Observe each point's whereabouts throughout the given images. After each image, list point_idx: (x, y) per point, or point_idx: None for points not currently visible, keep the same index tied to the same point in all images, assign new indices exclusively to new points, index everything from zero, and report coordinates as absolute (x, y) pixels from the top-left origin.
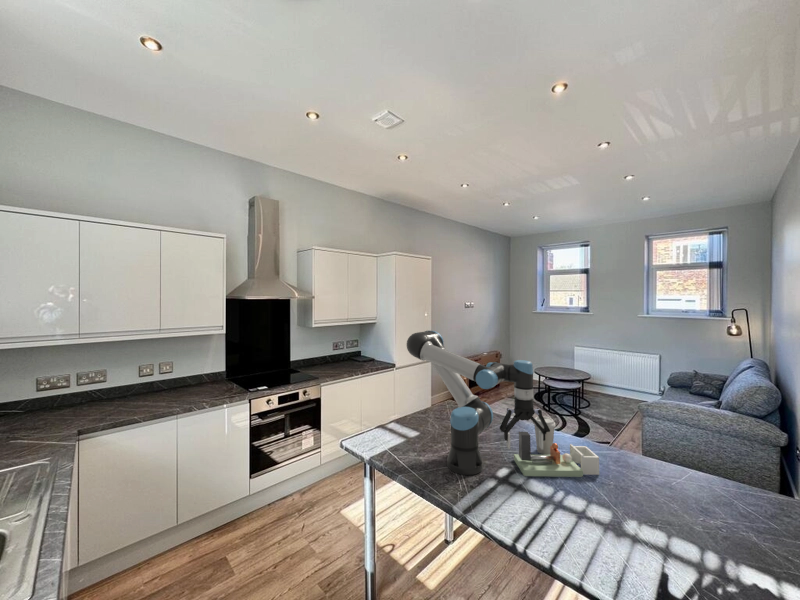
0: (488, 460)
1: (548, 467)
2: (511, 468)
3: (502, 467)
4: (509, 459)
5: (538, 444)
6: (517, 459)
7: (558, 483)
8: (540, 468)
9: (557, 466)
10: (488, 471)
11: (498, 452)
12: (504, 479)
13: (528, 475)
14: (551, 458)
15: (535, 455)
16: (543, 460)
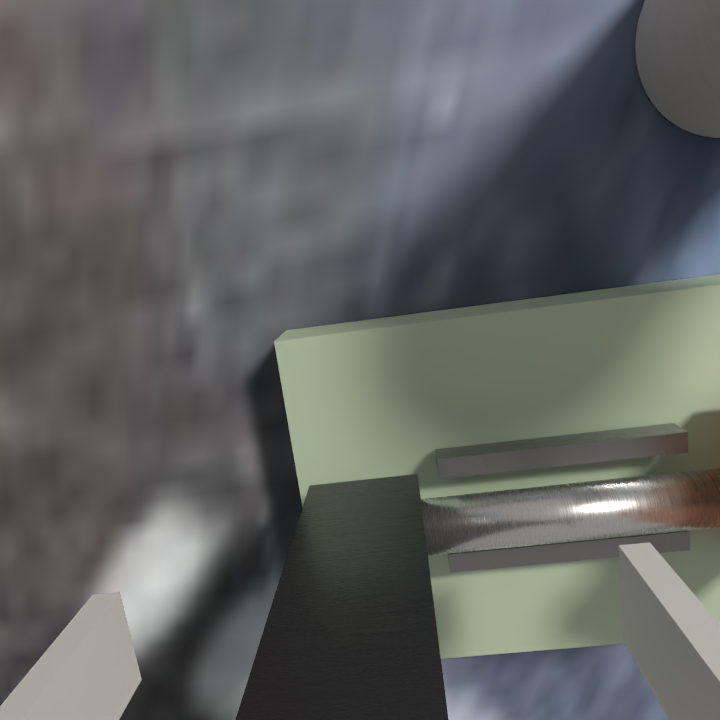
0: (12, 386)
1: (603, 591)
2: (236, 512)
3: (151, 505)
4: (236, 330)
5: (694, 59)
6: (297, 464)
7: (609, 697)
8: (508, 620)
9: (715, 562)
10: (21, 589)
11: (121, 171)
12: (157, 690)
13: None
14: (708, 525)
15: (544, 333)
16: None
